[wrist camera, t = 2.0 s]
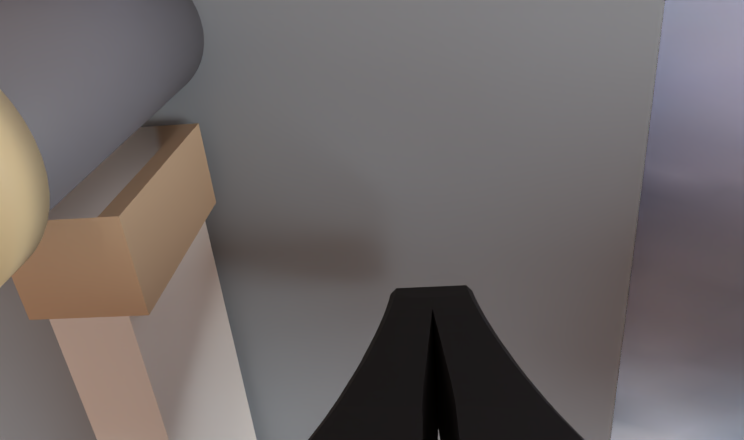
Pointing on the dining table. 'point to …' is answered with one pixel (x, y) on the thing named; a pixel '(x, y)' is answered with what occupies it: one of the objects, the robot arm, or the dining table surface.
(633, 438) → the dining table surface
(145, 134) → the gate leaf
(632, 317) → the dining table surface
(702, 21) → the dining table surface
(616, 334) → the gate frame
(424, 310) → the robot arm
